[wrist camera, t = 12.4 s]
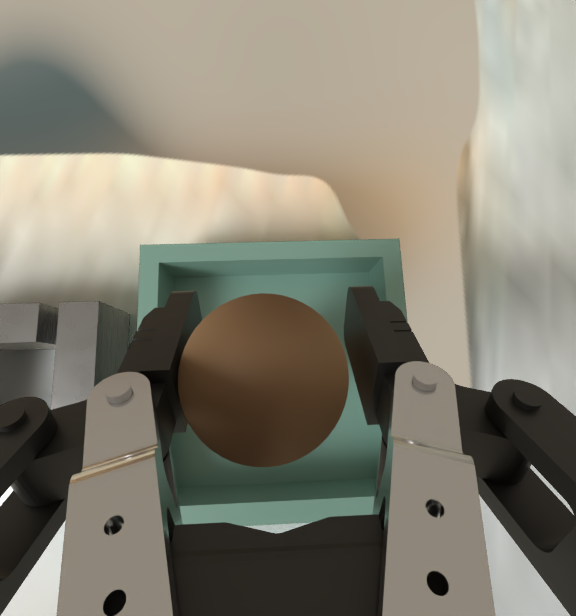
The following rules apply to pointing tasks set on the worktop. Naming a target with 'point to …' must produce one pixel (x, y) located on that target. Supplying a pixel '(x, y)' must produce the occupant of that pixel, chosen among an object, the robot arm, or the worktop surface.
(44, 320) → the socket block
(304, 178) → the worktop surface
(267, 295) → the wooden pin
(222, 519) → the tray
